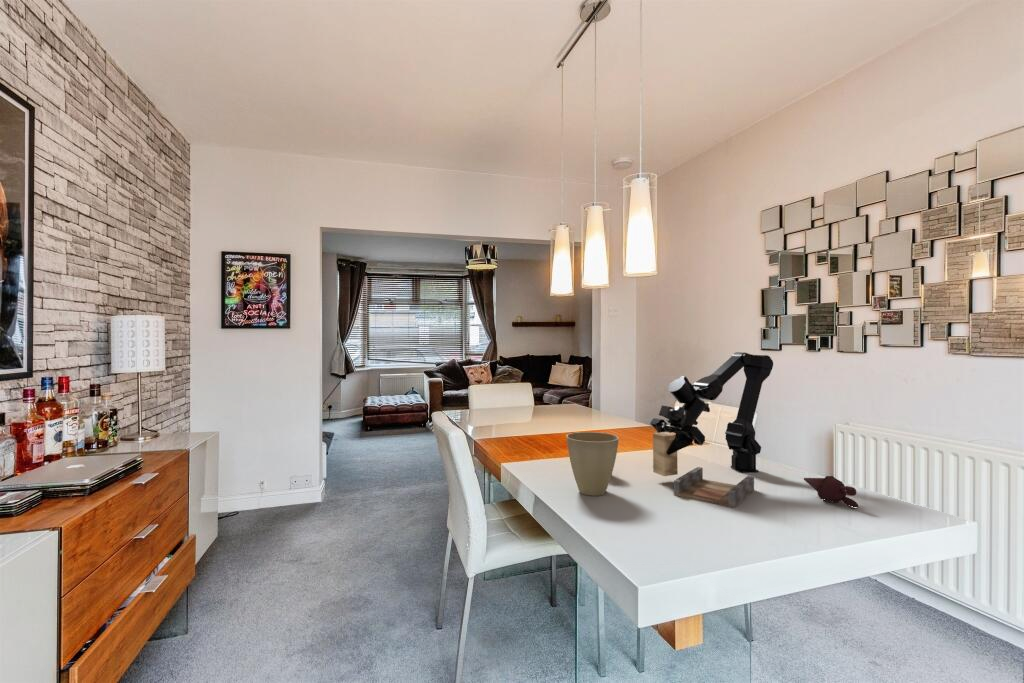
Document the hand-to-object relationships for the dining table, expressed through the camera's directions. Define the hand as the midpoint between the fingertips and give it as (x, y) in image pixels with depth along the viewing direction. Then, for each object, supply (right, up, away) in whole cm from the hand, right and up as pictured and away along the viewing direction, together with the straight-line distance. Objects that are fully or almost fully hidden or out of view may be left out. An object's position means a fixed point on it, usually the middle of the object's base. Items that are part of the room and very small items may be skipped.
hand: (661, 452), depth 143 cm
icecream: (+40, -9, -17) cm, 44 cm away
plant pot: (-22, -10, -8) cm, 26 cm away
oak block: (+1, -7, +1) cm, 7 cm away
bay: (+12, -9, -10) cm, 18 cm away
